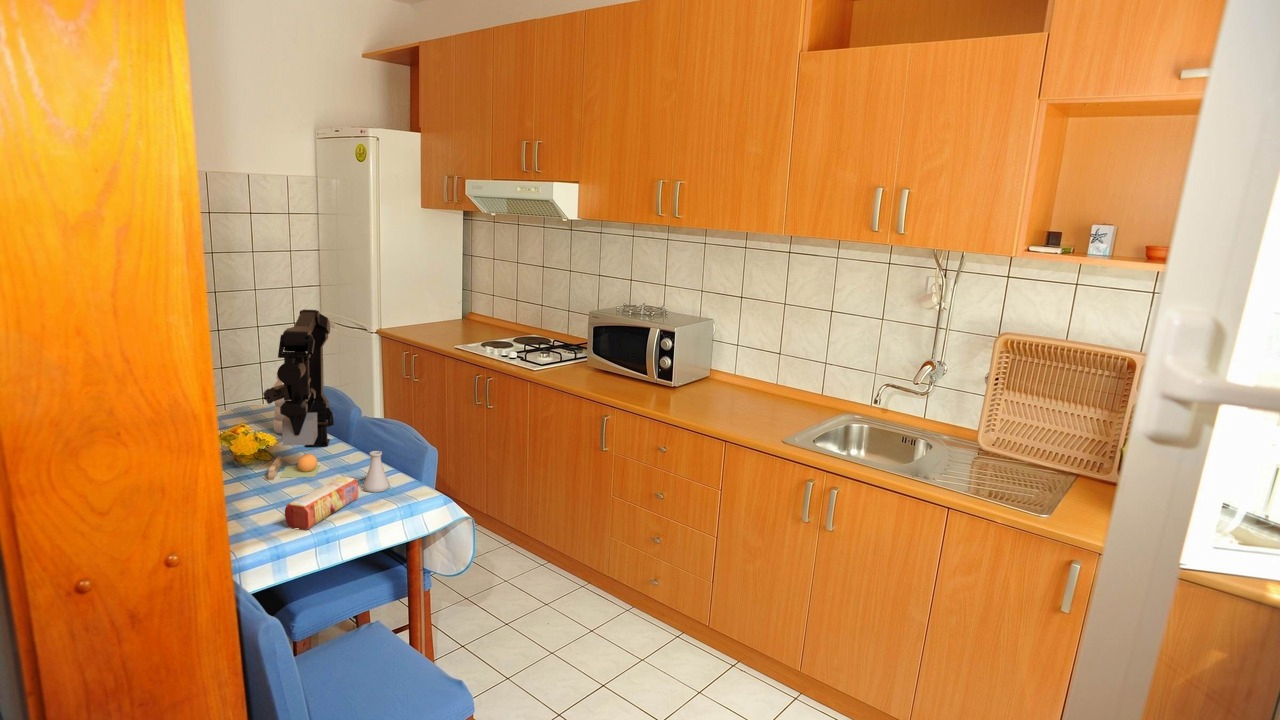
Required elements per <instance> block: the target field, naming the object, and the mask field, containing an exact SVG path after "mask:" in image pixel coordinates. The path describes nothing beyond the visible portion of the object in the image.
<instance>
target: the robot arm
mask: <svg viewBox="0 0 1280 720" xmlns="http://www.w3.org/2000/svg"><path fill="white" fill-rule="evenodd" d="M330 333H331V323H330V320H329V318H328V317H327V316H325V315H323V314H322V313H320V310H316V309H302V310H300V311H299V316H298V317H297V320H296V322H295V323H294V325H293V326H292V327H288V328H286V329H285V330H284V331H283V333H282V334H280V339H279V345H278V353H277V358H278V359H284V362H283V363H282V364H281V365H280V366H279V367H278V369H277V371H276V376H277V375H278V378H279V380H280V381H281V382H283V383H284V384H283V385H279V386H276V387H273V386H272V387H270V388H266V389H265V390H264V391H263V393H262V394H263V399H264V401H266V403H267V404H268V405H269V404H272V403H275V402H274V401H277V400H279V399H282V398H284V400H291V401H285V402H284V403H283V404H282V405H281V407H280V414H283V415H284V416H286V417H288V418H289V419H290V422H291V425H292V428H293V431H294V434H295V435H299V434H300V432H301V429H302V426H303V424H304V421H305V418H306V415H307V413H317V431H318V436H317V438H316V441H315V443H314V445H304V447H306V448H309V447H310V448H311V447H312V448H313V447H314V448H315V447H316V448H317V446H319V447H329V443H330V442H329V441H331V439H330V438H328V428H329V427H331V426H334V425H335V418H334V413H333V411H332V408H331V407H330V402H329V400H328V398H327V397H326V395H325V394H324V358H323V357H324V353H323V351H324V349H323V348H324V345H325V344H326V342H327V341H328V339H329V334H330Z"/></svg>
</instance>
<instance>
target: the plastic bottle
mask: <svg viewBox="0 0 1280 720" xmlns="http://www.w3.org/2000/svg"><path fill="white" fill-rule="evenodd" d="M283 384H284V383H283V382H281V381H280V380H279V378H278V375H277V374H276V382H275V383H274V384H273V386H272V387H276V386H279V385H283ZM285 401H291V400H284V398H282V399H279V400H277V401H274V402H273V403H274V419H273V430H274V432H275V433H276V434H280V435H283V434H282V420H283V418H284V417H285V416H284V415H283V414H280V407H281V405H282V404H283V403H284V402H285Z"/></svg>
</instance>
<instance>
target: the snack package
mask: <svg viewBox="0 0 1280 720" xmlns="http://www.w3.org/2000/svg"><path fill="white" fill-rule="evenodd" d="M358 482H359V481H358V480H357V479H356V478H353V477H351V476H350V477H348V476H338V477H336V478H335V479H333V480H331V481H330V482H328V483H326V484H324V485H321V486H320V487H318V488H316V489H315V490H313V491H310V492H309V493H307V494H305V495H304V496H301V497H299V498H297V499H295V500H293V501H292V502H290V503H287V505H286V506H285V508H284V519H285V522H286V524H287V526H288V527H290V528H291V527H293V528H299V529H307V530H309V529H311V528H312V527H313V526H315V525H316V524H318V523H320V522H322V521H323V520H325V519H327V518H328V517H330V516H332V515H333V514H334V513H336V512H337V511H339V510H341V509H342V508H344V507H346V506H347V505H349V504H351V503H353V502H354V501H356V500H357V499H358V498H359V483H358ZM293 528H292V529H293ZM299 529H298V530H299Z"/></svg>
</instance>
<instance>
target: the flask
mask: <svg viewBox="0 0 1280 720" xmlns="http://www.w3.org/2000/svg"><path fill="white" fill-rule="evenodd" d="M382 455H383V451H380V450H372V451H370V452H369V456H370V464H369V468H368V471H367V473H366V476H365V479H364V482H363V485H362V488H361V489H362V490H361V491H364V492H368V493H377V492H378V493H380V492H384V491H386V490H388V489H390V488H391V487H390V481H389V479H388V476H387V474H386V471H385V470H384V467H383V462H382Z"/></svg>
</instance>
